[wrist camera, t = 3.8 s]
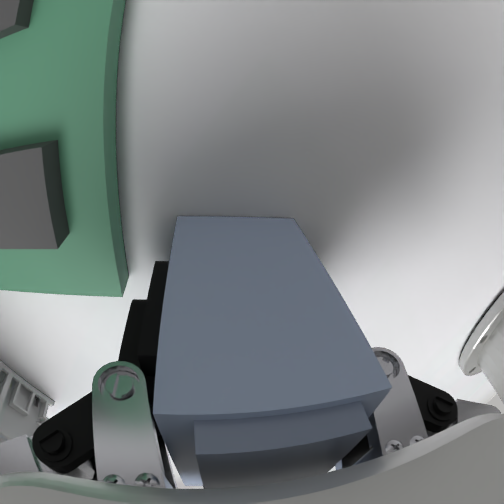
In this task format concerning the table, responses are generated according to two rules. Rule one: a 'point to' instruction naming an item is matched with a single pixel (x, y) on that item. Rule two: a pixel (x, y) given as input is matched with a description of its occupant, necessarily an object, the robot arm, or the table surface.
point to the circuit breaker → (20, 406)
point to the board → (60, 148)
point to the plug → (258, 357)
